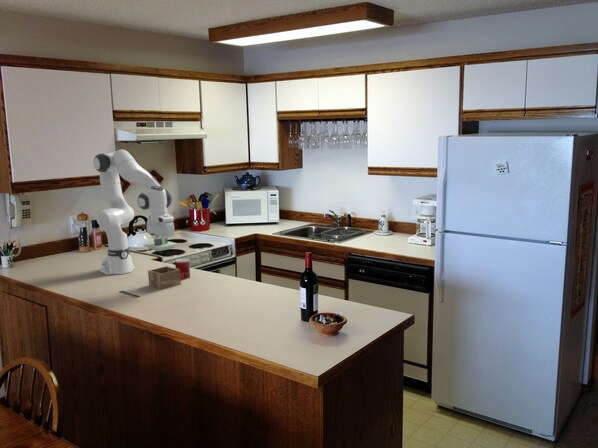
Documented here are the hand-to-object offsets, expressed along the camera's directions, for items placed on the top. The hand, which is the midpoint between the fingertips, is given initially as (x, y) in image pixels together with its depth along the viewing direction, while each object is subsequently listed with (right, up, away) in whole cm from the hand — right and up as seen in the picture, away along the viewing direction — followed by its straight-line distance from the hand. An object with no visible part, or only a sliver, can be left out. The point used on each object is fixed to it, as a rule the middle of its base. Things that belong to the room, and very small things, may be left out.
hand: (160, 243), depth 291 cm
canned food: (+8, -21, +18) cm, 29 cm away
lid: (0, -3, 0) cm, 3 cm away
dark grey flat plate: (-10, -25, -3) cm, 27 cm away
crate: (+1, -24, +5) cm, 24 cm away
